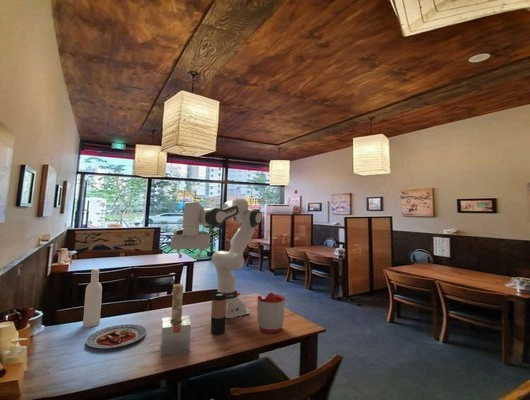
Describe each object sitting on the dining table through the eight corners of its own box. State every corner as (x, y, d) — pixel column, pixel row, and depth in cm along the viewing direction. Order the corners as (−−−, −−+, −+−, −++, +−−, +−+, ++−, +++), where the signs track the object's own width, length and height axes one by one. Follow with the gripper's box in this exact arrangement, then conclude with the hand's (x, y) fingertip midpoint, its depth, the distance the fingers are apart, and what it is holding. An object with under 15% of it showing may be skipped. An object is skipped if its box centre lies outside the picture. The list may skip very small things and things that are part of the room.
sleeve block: (187, 340, 128) (188, 315, 129) (189, 352, 116) (191, 324, 117) (161, 343, 124) (162, 317, 125) (160, 356, 112) (162, 328, 113)
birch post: (180, 326, 124) (182, 283, 125) (181, 330, 120) (183, 286, 121) (170, 327, 122) (173, 284, 124) (171, 331, 118) (173, 286, 120)
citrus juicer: (271, 320, 156) (272, 286, 157) (290, 331, 142) (291, 293, 143) (249, 326, 147) (250, 290, 148) (267, 338, 133) (268, 298, 134)
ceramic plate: (113, 357, 111) (113, 350, 111) (72, 345, 120) (73, 339, 120) (157, 333, 135) (157, 327, 135) (120, 325, 144) (121, 319, 144)
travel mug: (212, 336, 133) (214, 296, 134) (208, 330, 139) (210, 292, 141) (227, 334, 136) (228, 295, 138) (222, 328, 143) (223, 291, 144)
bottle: (80, 328, 138) (85, 271, 140) (84, 323, 145) (88, 268, 148) (98, 326, 141) (102, 270, 144) (101, 321, 148) (104, 267, 151)
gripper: (209, 231, 146) (208, 256, 145) (170, 231, 139) (169, 257, 138) (211, 231, 141) (210, 257, 139) (171, 231, 133) (169, 259, 132)
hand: (189, 257), depth 139 cm, fingers open, 8 cm apart
